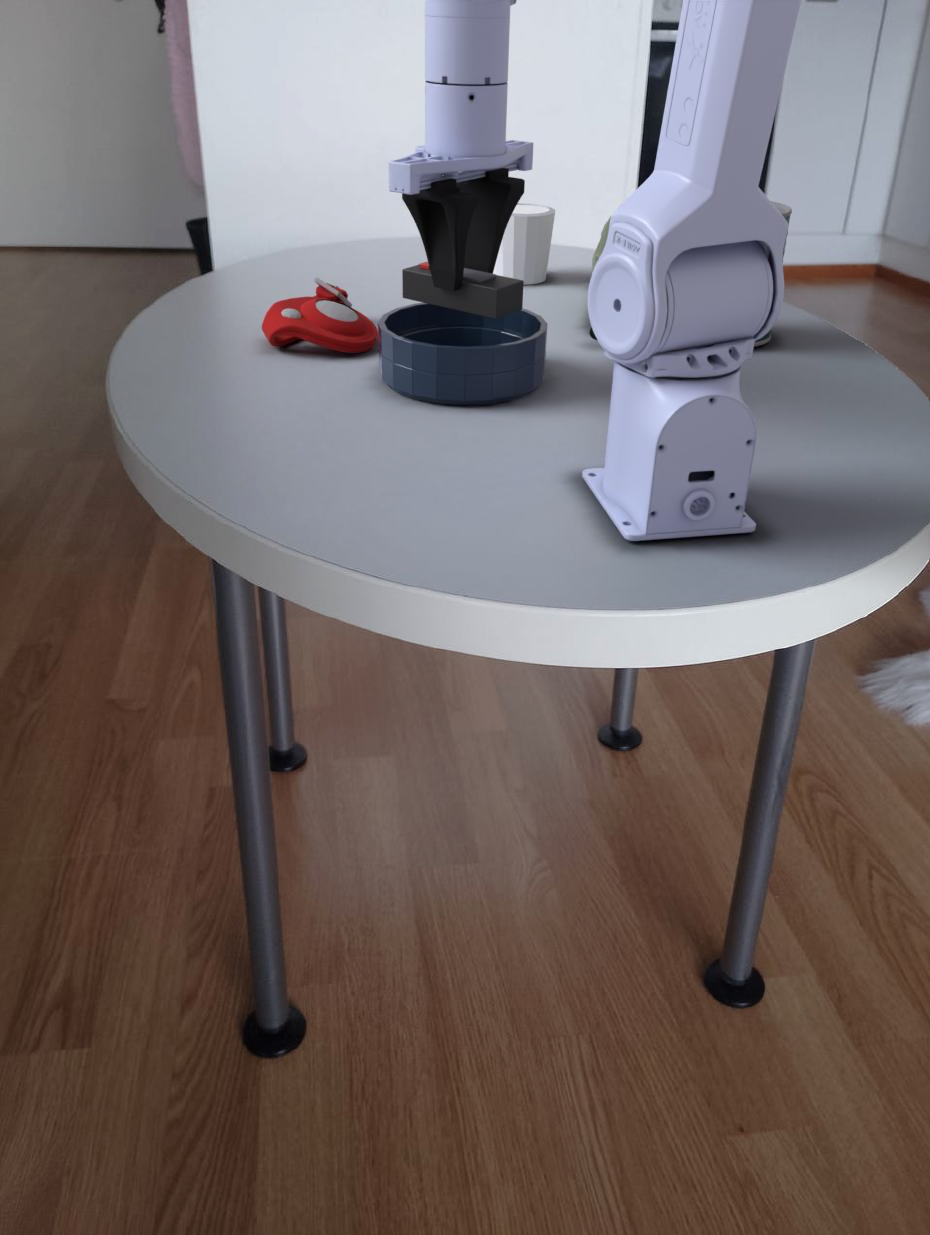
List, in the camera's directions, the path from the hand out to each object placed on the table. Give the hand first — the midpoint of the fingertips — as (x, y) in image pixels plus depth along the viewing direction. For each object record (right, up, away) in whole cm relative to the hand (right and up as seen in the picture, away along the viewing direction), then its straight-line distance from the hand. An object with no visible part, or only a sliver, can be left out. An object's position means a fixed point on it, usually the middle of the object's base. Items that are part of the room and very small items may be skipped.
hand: (463, 282), depth 80 cm
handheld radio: (+14, +4, +22) cm, 27 cm away
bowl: (0, -6, +4) cm, 8 cm away
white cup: (+6, +11, +32) cm, 34 cm away
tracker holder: (-12, -1, +13) cm, 18 cm away
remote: (0, -1, +1) cm, 2 cm away
